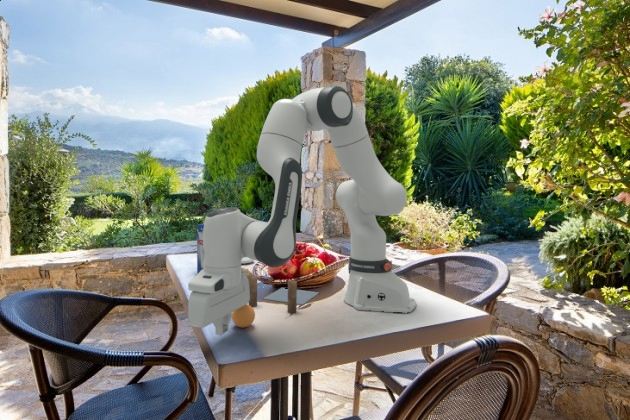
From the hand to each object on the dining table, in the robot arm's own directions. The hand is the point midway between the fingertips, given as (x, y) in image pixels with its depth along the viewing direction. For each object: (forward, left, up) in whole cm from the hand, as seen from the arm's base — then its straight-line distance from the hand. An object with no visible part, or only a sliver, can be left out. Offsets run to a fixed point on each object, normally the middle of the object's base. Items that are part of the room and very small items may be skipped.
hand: (222, 332), depth 97 cm
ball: (0, -10, +1) cm, 10 cm away
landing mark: (0, -40, -2) cm, 40 cm away
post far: (+6, -26, -2) cm, 26 cm away
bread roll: (+23, -45, -2) cm, 50 cm away
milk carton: (+40, -52, -2) cm, 65 cm away
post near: (-7, -26, -2) cm, 26 cm away
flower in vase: (+42, -75, -2) cm, 86 cm away
